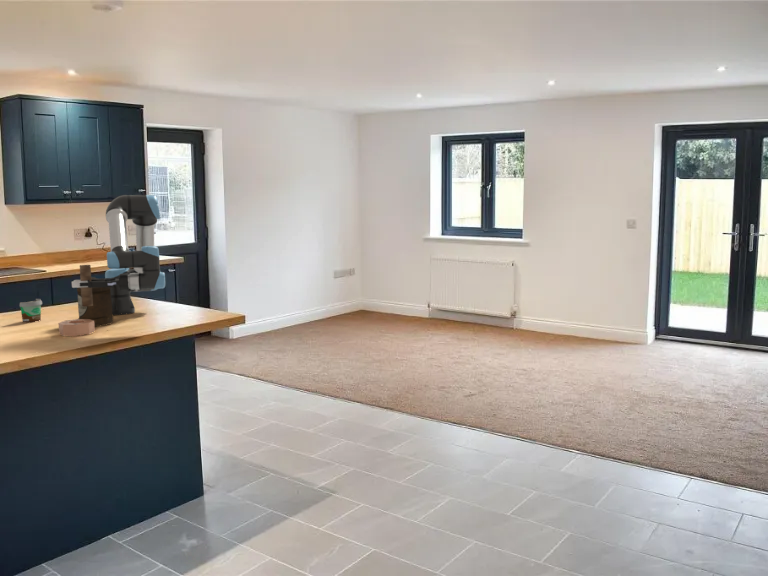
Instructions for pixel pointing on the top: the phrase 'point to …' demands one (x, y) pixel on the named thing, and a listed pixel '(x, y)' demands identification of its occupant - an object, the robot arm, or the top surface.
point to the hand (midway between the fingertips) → (73, 283)
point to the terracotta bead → (76, 327)
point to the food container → (31, 310)
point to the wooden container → (97, 306)
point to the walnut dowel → (86, 291)
